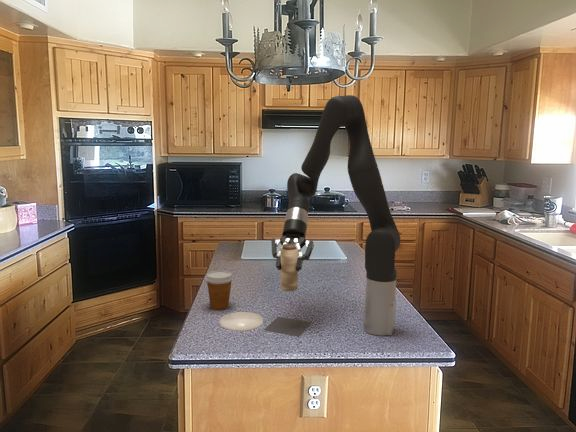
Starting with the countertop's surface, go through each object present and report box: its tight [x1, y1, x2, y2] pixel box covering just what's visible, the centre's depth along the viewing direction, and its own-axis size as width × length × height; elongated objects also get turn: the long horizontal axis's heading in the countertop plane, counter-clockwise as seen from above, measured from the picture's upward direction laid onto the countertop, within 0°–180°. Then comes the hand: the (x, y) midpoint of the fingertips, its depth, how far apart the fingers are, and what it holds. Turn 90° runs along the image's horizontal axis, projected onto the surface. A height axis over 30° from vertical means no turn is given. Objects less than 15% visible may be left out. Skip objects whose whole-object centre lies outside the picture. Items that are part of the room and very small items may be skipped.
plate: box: [219, 311, 264, 332], centre depth 152 cm, size 14×14×1 cm
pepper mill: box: [280, 243, 299, 292], centre depth 146 cm, size 5×5×14 cm
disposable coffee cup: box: [205, 270, 234, 311], centre depth 165 cm, size 10×10×12 cm
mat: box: [263, 316, 313, 338], centre depth 150 cm, size 12×12×1 cm
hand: (288, 269), depth 145 cm, fingers closed on pepper mill, 5 cm apart
